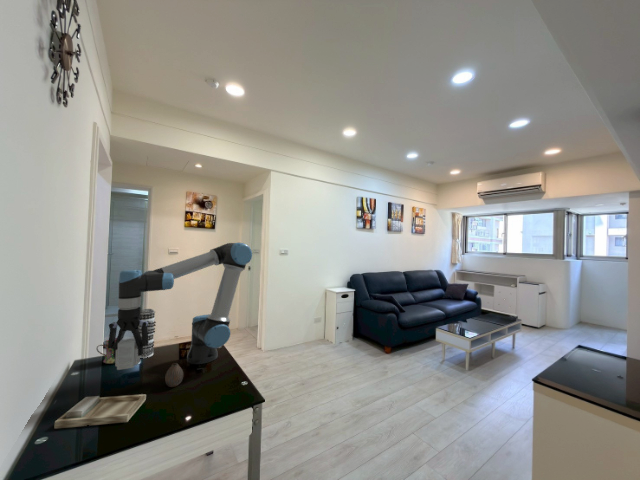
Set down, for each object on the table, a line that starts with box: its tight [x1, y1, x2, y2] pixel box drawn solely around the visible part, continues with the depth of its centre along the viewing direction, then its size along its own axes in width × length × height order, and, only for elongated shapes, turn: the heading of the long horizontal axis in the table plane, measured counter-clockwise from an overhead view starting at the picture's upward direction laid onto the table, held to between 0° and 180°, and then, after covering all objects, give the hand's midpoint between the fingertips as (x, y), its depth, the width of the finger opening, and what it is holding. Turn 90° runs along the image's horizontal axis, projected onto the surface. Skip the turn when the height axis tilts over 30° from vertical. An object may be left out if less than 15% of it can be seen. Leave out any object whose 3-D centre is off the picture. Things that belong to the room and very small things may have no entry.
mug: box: [96, 337, 117, 365], centre depth 132 cm, size 12×9×11 cm
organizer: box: [54, 393, 147, 429], centre depth 91 cm, size 21×13×4 cm, turn 101°
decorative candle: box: [138, 308, 157, 359], centre depth 140 cm, size 9×9×25 cm
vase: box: [164, 362, 184, 388], centre depth 111 cm, size 7×7×9 cm
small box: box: [116, 335, 137, 371], centre depth 104 cm, size 8×6×10 cm
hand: (128, 364), depth 104 cm, fingers closed on small box, 6 cm apart
